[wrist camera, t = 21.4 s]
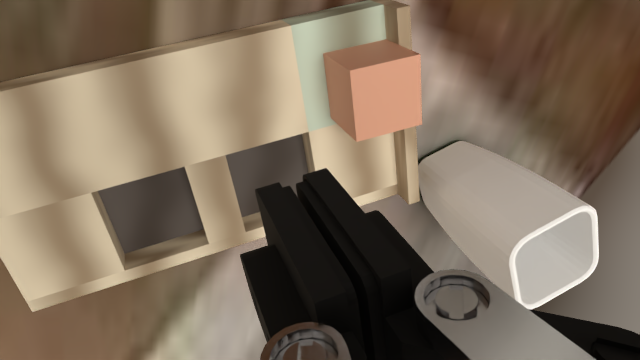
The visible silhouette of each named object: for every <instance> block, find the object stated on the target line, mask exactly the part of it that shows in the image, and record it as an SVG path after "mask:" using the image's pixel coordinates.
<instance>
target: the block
mask: <svg viewBox="0 0 640 360" xmlns="http://www.w3.org/2000/svg"><path fill="white" fill-rule="evenodd" d="M323 57H324V66H325V74H326V82H327V91H328V99H329V107H330V116H331V119H332V120H334V121H335V122H336V123H337V124H338V125H339V126H340V127H341V128H342V129H343V130H344V131H345V132H346V133H347V134H349V135H350V136H351V137H352V138H353V139H354V140H355V141H356V142H359V141H362V140H366V139H370V138H374V137H377V136H381V135H385V134H388V133H392V132H396V131H399V130H403V129H407V128H411V127H414V126H418V125H422V104H421V62H420V54H419V53H416V52H414V51H412V50H410V49H407V48H405V47H403V46H400V45H398V44H396V43H394V42H391V41H389V40H387V39H385V40H381V41H376V42H372V43H367V44H363V45H358V46H354V47H349V48H345V49H340V50H335V51H331V52H326V53H323Z"/></svg>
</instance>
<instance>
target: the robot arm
mask: <svg viewBox="0 0 640 360" xmlns="http://www.w3.org/2000/svg"><path fill="white" fill-rule="evenodd" d="M296 191H297V196H298V197H297V196H296V194H295V193H294V191H293V189H292V188H291V186H286V187H283V188H282V186H281V184H280V183H279V182H277V183H274V184H271V185H267V186H264V187H261V188H257V189H255V193H256V198H257V202H258V206H259V210H260V214H261V218H262V223H263V227H264V231H265V235H266V239H267V243H268V246H265V247H262V248H259V249H256V250H253V251H249V252H246V253H243V254H240V257H241V261H242V265H243V268H244V272H245V276H246V279H247V283H248V286H249V289H250V293H251V296H252V299H253V302H254V306H255V309H256V312H257V315H258V318H259V321H260V324H261V326H262V329H263V332H264V335H265V338H266V341H267V344H266V345H265V347H264V349H263V351H262V354H261V358H260V360H640V334H639V335H638V334H636V333H634V332H632V331H629V330H626V329H622V328H619V327H615V326H610V325H605V324H600V323H594V322H590V321H585V320H580V319H575V318H570V317H564V316H560V315H555V314H550V313H545V312H540V311H535V310H530V309H527V308H526V307H524V306H523V305H522V304H520V303H519V302H517V301H516V300H515V299H513V298H512V297H511V296H509V295H508V294H507V293H505V292H504V291H503V290H501V289H500V288H499V287H497V286H496V285H494V284H493V283H492V282H490V281H489V280H488V279H486V278H484V277H482V276H481V275H479V274H477V273H473V272H470V271H467V270H458V269H449V270H441V271H438V272H435V273H434V272H433V271H432V269H431V268H430V267H429V266H428V265H427V264H426V263H425V262H424V261H423V259H422V258H421V257H420V256H419V255H418V254H417V253H416V252H415V250H414V249H413V248H412V247H411V246H410V245H409V244H408V243H407V242H406V240H405V239H404V238H403V237H402V236H401V235H400V234H399V233H398V232H397V230H396V229H395V228H394V227H393V226H392V225H391V224H390V223H389V221H388V220H387V219H386V218H385V217H384V216H383V215H382V214H381V213H380V212H379V211H376V210H375V211H372V212H369V213H364V212H363V211H362V209H361V208H360V207H359V206H358V205H357V203H356V202H355V201H354V200H353V199H352V197H351V196H350V195H349V194H348V193H347V191H346V190H345V189H344V188H343V187H342V186H341V184H340V183H339V182H338V181H337V180H336V178H335V177H334V176H333V175H332V174H331V172H330V171H329V170H328V169H327V168H324V169H321V170H317V171H314V172H311V173H307V174H304V175H303V181H302V182H299V183H296Z"/></svg>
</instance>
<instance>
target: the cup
mask: <svg viewBox="0 0 640 360" xmlns="http://www.w3.org/2000/svg"><path fill="white" fill-rule="evenodd" d="M418 177H419V187H420V191H421V195H422V198H423V202H424V203H425V205H426V207H427V208H428V209H429V211H430V212H431V213H432V215H433V216H434V218H435V219H436V220H437V222H438V223H439V224H440V225H441V227H442V228H443V229H444V230H445V232H446V233H447V234H448V235H449V236H450V238H451V239H452V240H453V241H454V242H455V243H456V245H457V246H458V247H459V248H460V249H461V250H462V251H463V252H464V253H465V254H466V256H467V257H468V258H469V259H470V260H471V261H472V262H473V263H474V264H475V265H476V266H477V267H478V268H479V269H480V270H481V271H482V272H483V273H484V274H485V275H486V276H487V277H488V278H489V279H490V280H491V281H492V282H493V283H494V284H495V285H496V286H497V287H499V288H500V289H501V290H503V291H504V292H505V293H507V294H508V295H509V296H511V297H512V298H513V299H515V300H516V301H517V302H519V303H520V304H522V305H523V306H524V307H526V308H527V309H534V308H536V307H539V306H541V305H542V304H544V303H546V302H547V301H549V300H551V299H553V298H555V297H556V296H558V295H560V294H562V293H563V292H565V291H567V290H569V289H570V288H572V287H574V286H576V285H577V284H579V283H581V282H582V281H583V280H585V279H586V278H588V277H589V276H590V275H591V273H592V272H593V271H594V269H595V268H596V266H597V264H598V258H599V246H598V245H599V244H598V219H597V213H596V210H595V209H594V208H593V207H591V206H590V205H588V204H587V203H585V202H583V201H582V200H580V199H578V198H577V197H575V196H573V195H572V194H570V193H568V192H567V191H565V190H564V189H562V188H560V187H559V186H557V185H555V184H553V183H552V182H550V181H548V180H546V179H545V178H543V177H541V176H539V175H537V174H536V173H534V172H532V171H530V170H528V169H526V168H524V167H523V166H521V165H519V164H517V163H515V162H513V161H511V160H509V159H507V158H505V157H503V156H500V155H498V154H496V153H493V152H491V151H489V150H486V149H484V148H481V147H479V146H476V145H473V144H471V143H468V142H465V141H458V142H455V143H453V144H451V145H449V146H447V147H445V148H444V149H442V150H440V151H438V152H436V153H434V154H432V155H430V156H428V157H426V158H425V159H423V160H422V161H421V162H420V164H419V165H418Z"/></svg>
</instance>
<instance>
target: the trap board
mask: <svg viewBox="0 0 640 360" xmlns="http://www.w3.org/2000/svg"><path fill="white" fill-rule="evenodd" d="M385 39H387V40H389V41H391V42H394V43H396V44H398V45H400V46H403V47H405V48H407V49H410V50H412V39H411V19H410V6H409V5H406V4H403V3H399V2H396V1H392V0H367V1H362V2H358V3H353V4H349V5H344V6H340V7H335V8H331V9H326V10H322V11H317V12H313V13H308V14H304V15H299V16H295V17H290V18H286V19H282V20H277V21H273V22H268V23H264V24H259V25H255V26H250V27H246V28H241V29H237V30H232V31H228V32H223V33H219V34H214V35H210V36H205V37H201V38H196V39H192V40H187V41H183V42H178V43H174V44H170V45H165V46H161V47H156V48H152V49H147V50H143V51H138V52H134V53H129V54H125V55H120V56H116V57H111V58H107V59H102V60H98V61H93V62H89V63H84V64H80V65H75V66H71V67H66V68H62V69H57V70H53V71H49V72H44V73H40V74H35V75H31V76H26V77H22V78H17V79H13V80H8V81H4V82H0V258H1V259H2V261H3V263H4V264H5V266H6V268H7V269H8V271H9V273H10V275H11V276H12V278H13V280H14V281H15V283H16V285H17V287H18V288H19V290H20V292H21V293H22V295H23V297H24V299H25V300H26V302H27V304H28V305H29V307H30V309H31V310H32V312H34V311H37V310H40V309H43V308H46V307H49V306H53V305H56V304H59V303H62V302H65V301H68V300H71V299H74V298H77V297H80V296H83V295H87V294H90V293H93V292H96V291H99V290H102V289H105V288H108V287H111V286H114V285H117V284H121V283H124V282H127V281H130V280H133V279H136V278H139V277H142V276H145V275H148V274H152V273H155V272H158V271H161V270H164V269H167V268H170V267H173V266H176V265H179V264H182V263H186V262H189V261H192V260H195V259H198V258H201V257H204V256H207V255H210V254H213V253H217V252H220V251H223V250H226V249H229V248H232V247H235V246H238V245H241V244H244V243H247V242H251V241H254V240H257V239H260V238H263V237H266V235H265V231H264V227H263V223H262V218H261V214H260V210H259V206H258V202H257V198H256V193H255V189H257V188H261V187H264V186H267V185H271V184H274V183H277V182H279V183H280V184H281V186H282V188H283V187H286V186H291V188H292V189H293V191H294V193H295V194H296V196H297V191H296V183H299V182H302V181H303V175H304V174H307V173H311V172H314V171H317V170H321V169H324V168H327V169H328V170H329V171H330V172H331V174H332V175H333V176H334V177H335V178H336V180H337V181H338V182H339V183H340V184H341V186H342V187H343V188H344V189H345V190H346V191H347V193H348V194H349V195H350V196H351V197H352V199H353V200H354V201H355V202H356V203H357V205H358V206H362V205H365V204H368V203H371V202H374V201H377V200H381V199H384V198H387V197H390V196H393V195H396V194H399V195H400V196H401V197H402V198H403V199H404V200H405V201H406V202H407V203H408V204H409V205H410V204H413V203H416V202H419V201H420V197H419V177H418V157H417V138H416V126H414V127H411V128H407V129H403V130H399V131H396V132H392V133H388V134H385V135H381V136H377V137H374V138H370V139H366V140H362V141H359V142H356V141H355V140H354V139H353V138H352V137H351V136H350V135H349V134H347V133H346V132H345V131H344V130H343V129H342V128H341V127H340V126H339V125H338V124H337V123H336V122H335V121H334V120H332V119H331V116H330V107H329V99H328V91H327V82H326V74H325V66H324V57H323V53H326V52H331V51H335V50H340V49H345V48H349V47H354V46H358V45H363V44H367V43H372V42H376V41H381V40H385ZM297 197H298V196H297Z"/></svg>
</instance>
